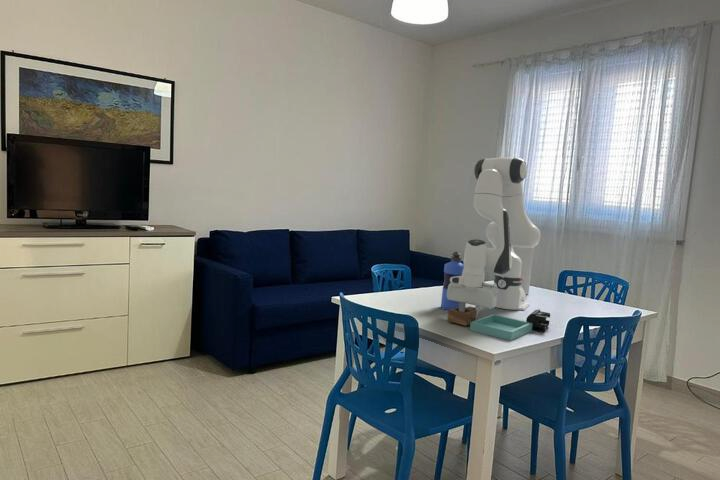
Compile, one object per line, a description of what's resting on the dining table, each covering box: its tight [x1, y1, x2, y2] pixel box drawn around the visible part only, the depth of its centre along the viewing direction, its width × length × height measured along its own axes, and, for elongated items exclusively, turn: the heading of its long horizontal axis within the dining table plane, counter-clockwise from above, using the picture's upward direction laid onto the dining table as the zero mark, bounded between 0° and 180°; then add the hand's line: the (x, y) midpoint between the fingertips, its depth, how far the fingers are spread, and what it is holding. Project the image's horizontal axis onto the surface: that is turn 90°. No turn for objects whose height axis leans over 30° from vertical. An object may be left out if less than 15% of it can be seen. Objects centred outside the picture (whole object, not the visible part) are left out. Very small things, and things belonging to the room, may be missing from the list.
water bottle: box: [440, 251, 464, 311], centre depth 227 cm, size 9×9×25 cm
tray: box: [469, 313, 533, 341], centre depth 197 cm, size 20×16×3 cm
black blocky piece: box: [525, 309, 551, 333], centre depth 204 cm, size 10×7×7 cm
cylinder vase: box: [513, 246, 535, 296], centre depth 277 cm, size 12×12×25 cm
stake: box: [459, 303, 467, 312], centre depth 203 cm, size 2×2×8 cm
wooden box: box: [447, 305, 477, 327], centre depth 205 cm, size 13×8×4 cm, turn 142°
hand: (469, 314), depth 208 cm, fingers closed on wooden box, 3 cm apart
